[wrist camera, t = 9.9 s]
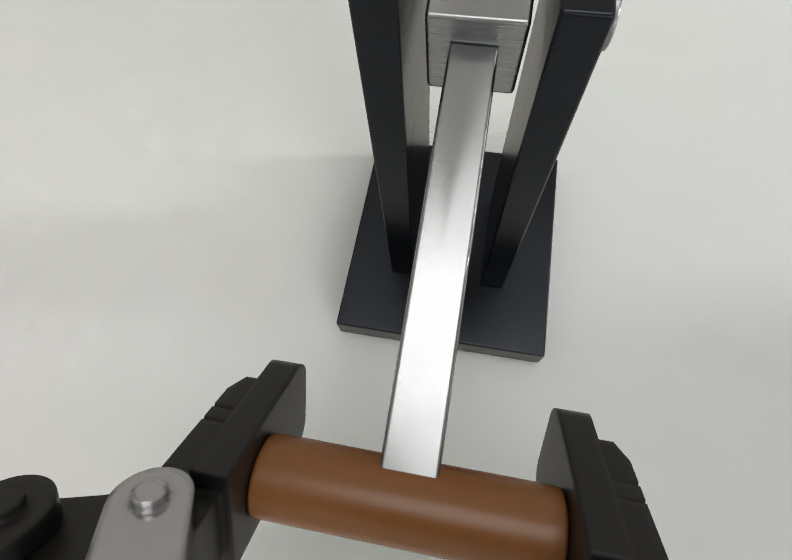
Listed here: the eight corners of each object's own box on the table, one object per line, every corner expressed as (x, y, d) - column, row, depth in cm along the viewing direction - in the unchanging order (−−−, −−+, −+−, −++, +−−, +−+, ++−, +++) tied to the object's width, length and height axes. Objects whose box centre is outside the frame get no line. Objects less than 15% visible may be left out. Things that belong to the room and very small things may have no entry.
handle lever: (540, 557, 10) (573, 609, 7) (275, 502, 10) (227, 534, 8) (591, 6, 12) (626, -83, 10) (380, -9, 13) (368, -96, 11)
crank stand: (538, 362, 21) (751, 156, 7) (340, 331, 22) (201, 98, 8) (551, 173, 25) (711, -204, 11) (381, 153, 26) (330, -213, 12)
